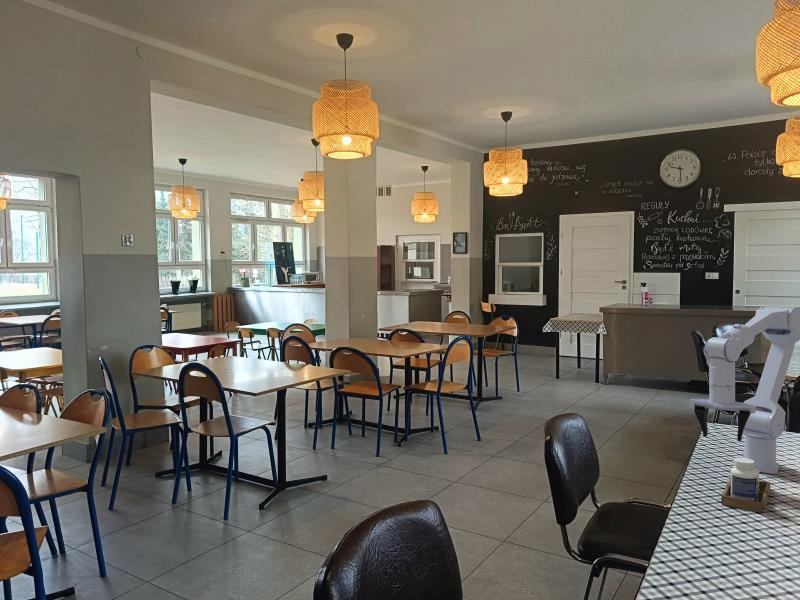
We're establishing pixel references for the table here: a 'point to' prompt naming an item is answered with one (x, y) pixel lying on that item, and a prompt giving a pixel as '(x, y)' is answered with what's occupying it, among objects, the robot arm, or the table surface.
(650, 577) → the table surface
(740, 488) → the pill bottle
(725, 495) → the wooden tray
